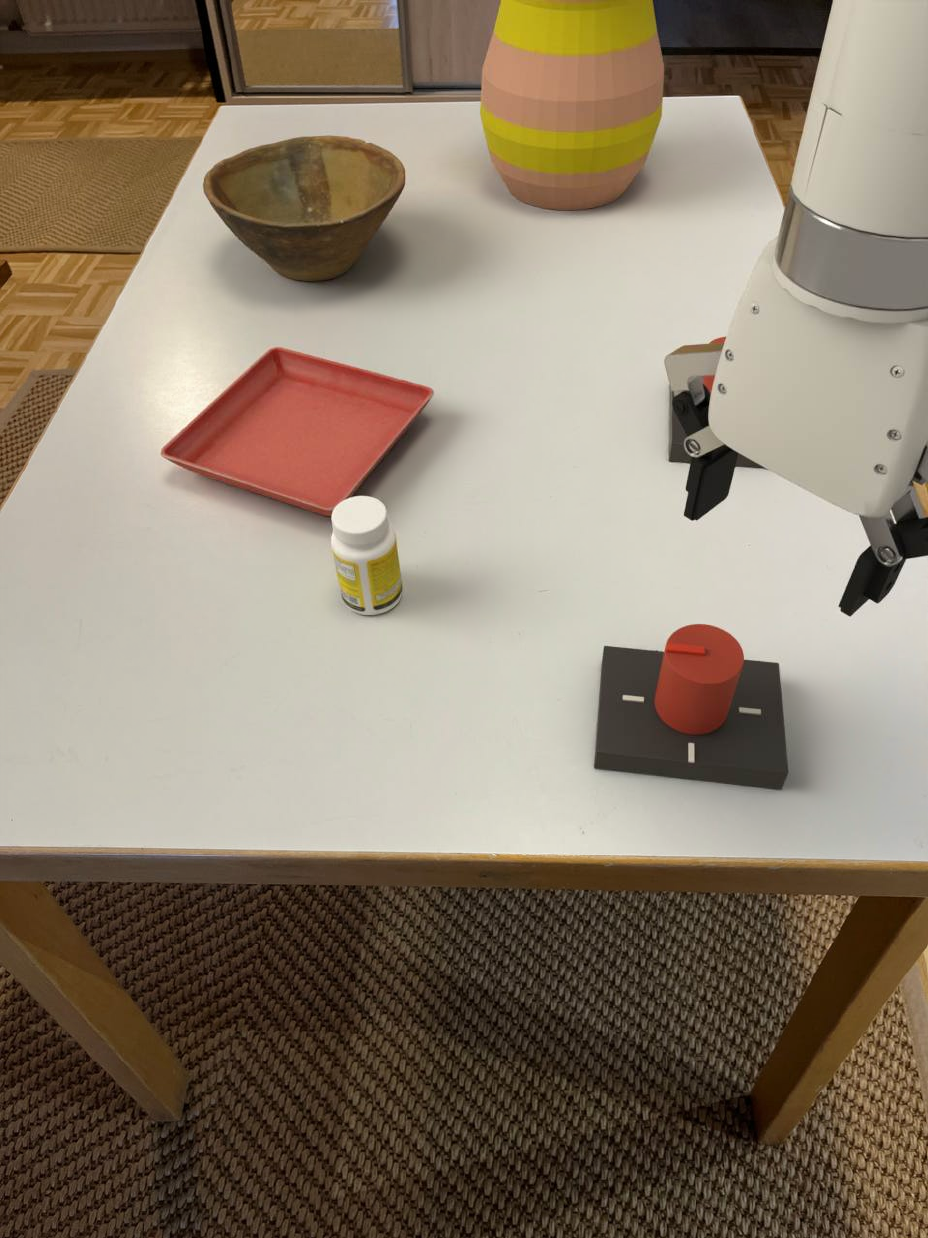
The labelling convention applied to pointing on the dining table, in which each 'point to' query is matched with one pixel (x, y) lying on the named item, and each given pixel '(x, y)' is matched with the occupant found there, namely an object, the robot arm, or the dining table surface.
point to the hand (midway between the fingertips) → (778, 551)
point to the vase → (571, 98)
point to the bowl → (306, 201)
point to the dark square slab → (679, 435)
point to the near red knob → (698, 678)
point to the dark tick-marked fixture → (725, 755)
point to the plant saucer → (299, 429)
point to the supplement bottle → (365, 556)
